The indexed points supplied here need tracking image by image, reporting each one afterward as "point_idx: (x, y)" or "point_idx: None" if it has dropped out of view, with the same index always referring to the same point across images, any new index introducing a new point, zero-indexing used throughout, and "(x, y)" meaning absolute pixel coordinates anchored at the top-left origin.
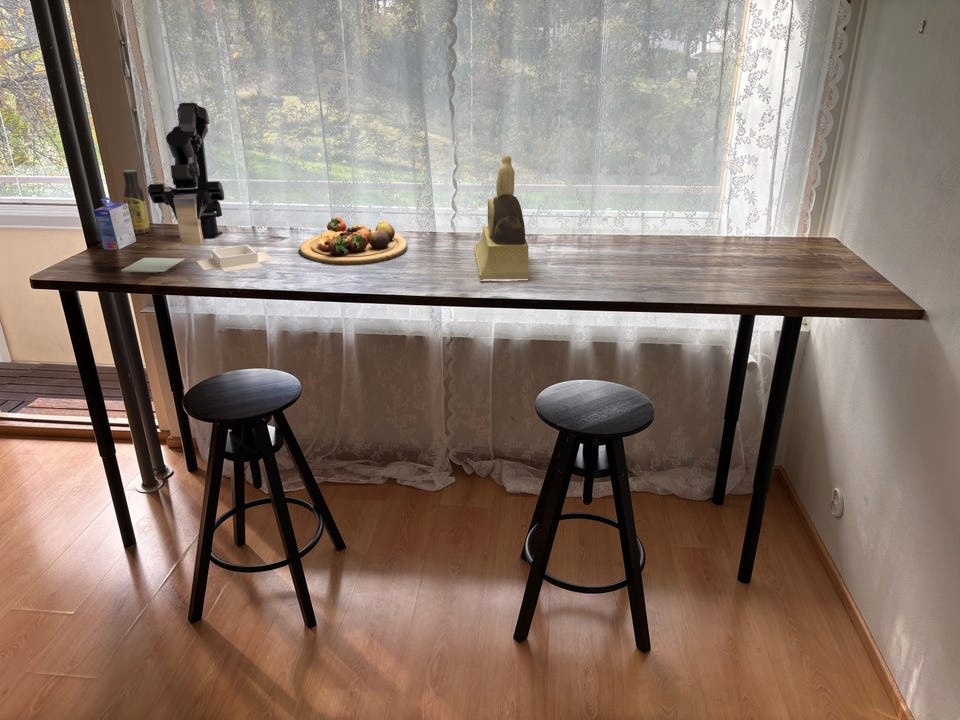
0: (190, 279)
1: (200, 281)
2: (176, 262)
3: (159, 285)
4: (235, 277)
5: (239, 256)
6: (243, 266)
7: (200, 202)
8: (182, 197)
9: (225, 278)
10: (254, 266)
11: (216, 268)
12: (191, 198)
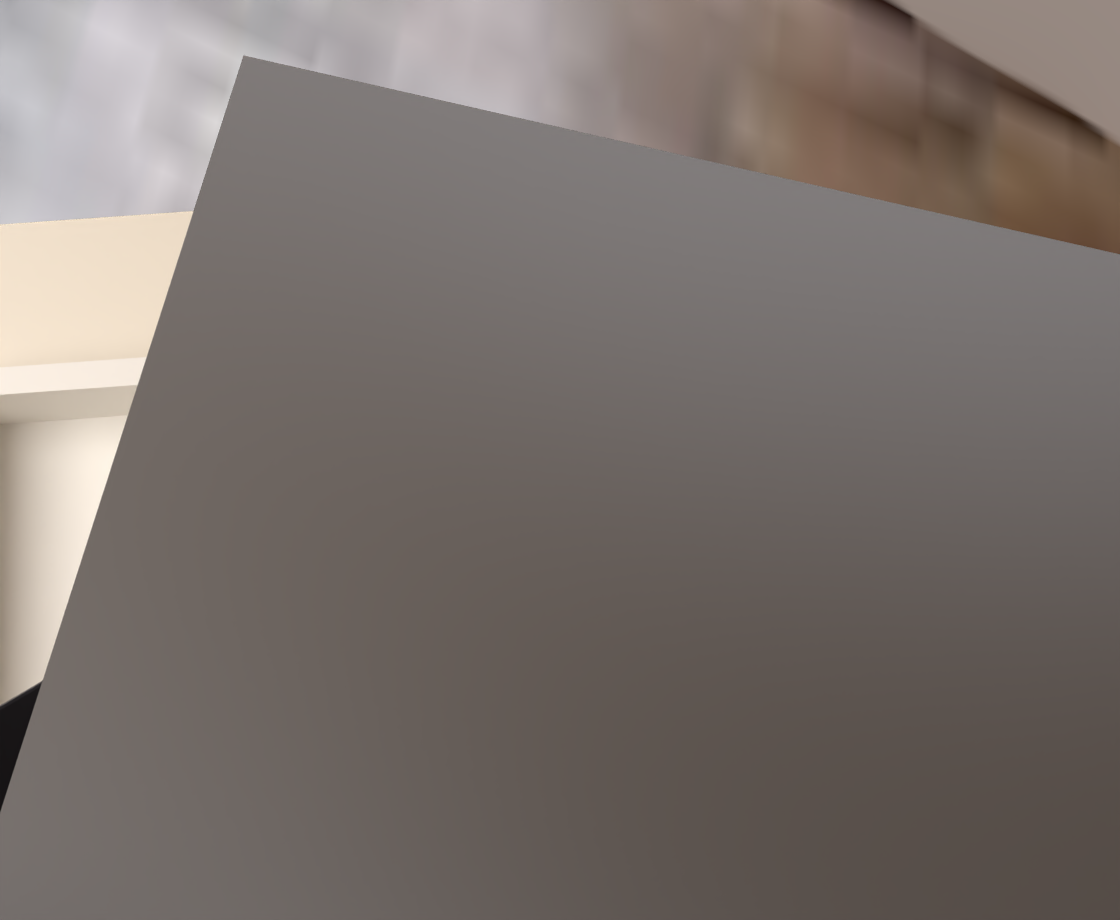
0: (708, 149)
1: (625, 43)
2: None
3: (1003, 90)
4: (292, 20)
5: (92, 362)
6: (130, 311)
7: (6, 755)
8: (976, 648)
9: (387, 31)
10: (25, 257)
11: None
12: (404, 98)
